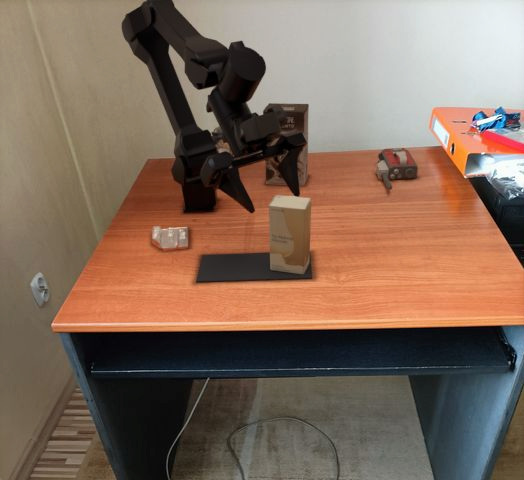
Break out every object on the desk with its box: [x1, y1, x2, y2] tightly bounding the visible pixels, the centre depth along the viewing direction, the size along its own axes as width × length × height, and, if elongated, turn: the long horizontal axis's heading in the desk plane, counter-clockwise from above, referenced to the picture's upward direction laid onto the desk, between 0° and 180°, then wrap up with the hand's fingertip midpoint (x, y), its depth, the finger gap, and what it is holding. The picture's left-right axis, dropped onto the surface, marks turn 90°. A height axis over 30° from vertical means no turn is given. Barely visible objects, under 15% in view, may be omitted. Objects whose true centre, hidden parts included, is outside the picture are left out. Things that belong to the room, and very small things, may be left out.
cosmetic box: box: [268, 194, 313, 274], centre depth 87 cm, size 6×4×12 cm
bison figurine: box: [210, 125, 234, 157], centre depth 121 cm, size 12×7×10 cm, turn 176°
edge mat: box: [195, 251, 313, 284], centre depth 92 cm, size 20×9×1 cm, turn 88°
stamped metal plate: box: [151, 225, 190, 252], centre depth 101 cm, size 8×7×2 cm
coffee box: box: [262, 102, 310, 187], centre depth 115 cm, size 9×6×16 cm
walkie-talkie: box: [375, 147, 419, 191], centre depth 117 cm, size 9×4×20 cm
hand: (276, 204), depth 86 cm, fingers open, 9 cm apart
